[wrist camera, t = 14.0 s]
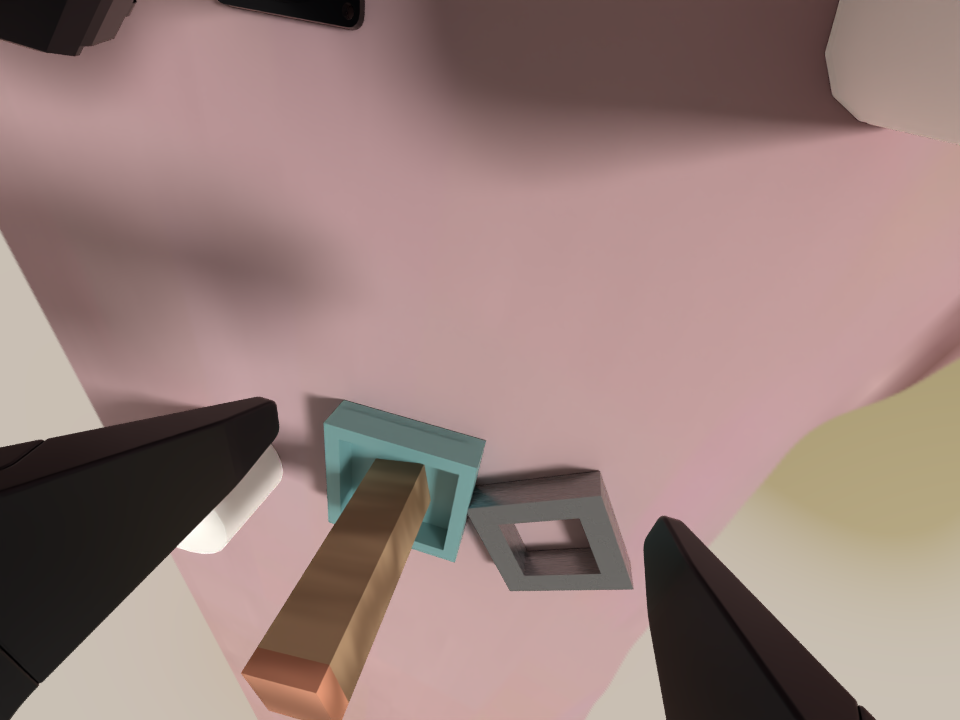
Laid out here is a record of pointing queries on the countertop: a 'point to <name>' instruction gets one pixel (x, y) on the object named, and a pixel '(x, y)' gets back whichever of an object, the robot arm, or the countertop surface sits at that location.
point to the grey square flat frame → (546, 502)
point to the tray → (383, 435)
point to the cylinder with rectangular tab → (236, 506)
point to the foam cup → (898, 64)
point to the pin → (341, 598)
